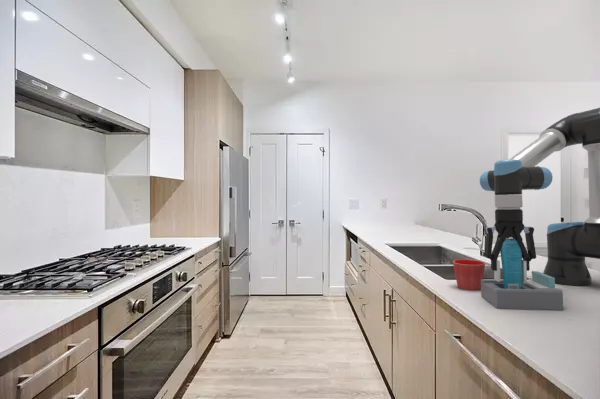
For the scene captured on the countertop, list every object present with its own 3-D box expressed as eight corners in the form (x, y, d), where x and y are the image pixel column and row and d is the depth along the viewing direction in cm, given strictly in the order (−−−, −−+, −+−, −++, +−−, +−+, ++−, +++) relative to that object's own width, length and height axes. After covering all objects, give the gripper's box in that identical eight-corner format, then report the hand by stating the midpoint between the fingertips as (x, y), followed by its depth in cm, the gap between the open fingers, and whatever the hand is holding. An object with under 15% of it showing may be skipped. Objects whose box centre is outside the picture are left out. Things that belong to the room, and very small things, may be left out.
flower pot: (491, 291, 122) (491, 264, 123) (461, 291, 123) (460, 264, 123) (477, 284, 133) (476, 259, 133) (448, 284, 133) (448, 259, 133)
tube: (518, 295, 111) (516, 236, 111) (530, 300, 106) (527, 238, 106) (497, 297, 110) (494, 237, 111) (507, 301, 106) (505, 239, 106)
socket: (539, 297, 113) (538, 280, 113) (563, 310, 100) (562, 290, 100) (481, 296, 116) (480, 279, 116) (497, 308, 103) (496, 289, 103)
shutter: (547, 283, 111) (546, 271, 111) (565, 290, 102) (565, 278, 102) (522, 282, 113) (522, 271, 113) (538, 290, 103) (538, 277, 103)
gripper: (536, 207, 111) (538, 278, 111) (471, 208, 114) (472, 277, 114) (549, 208, 104) (551, 284, 103) (479, 209, 107) (481, 283, 106)
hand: (510, 280), depth 109 cm, fingers open, 7 cm apart
